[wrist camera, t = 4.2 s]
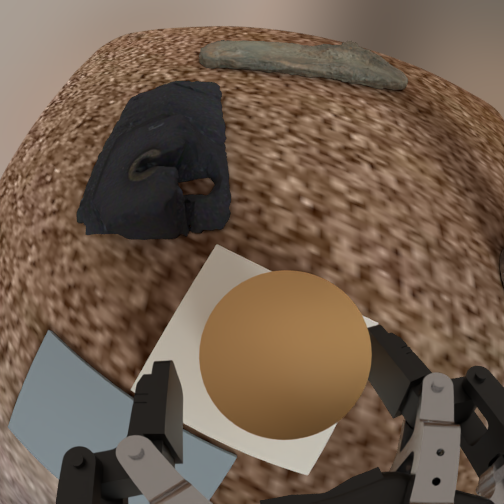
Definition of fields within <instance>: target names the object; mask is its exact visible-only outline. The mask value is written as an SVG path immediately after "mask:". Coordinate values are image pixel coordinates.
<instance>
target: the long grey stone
mask: <svg viewBox="0 0 504 504" xmlns="http://www.w3.org/2000/svg"><path fill="white" fill-rule="evenodd" d="M199 62H200V64H202V65H203V66H204V67H206V68H231V69H248V70H259V71H264V72H269V73H270V72H281V73H287V74H290V75H300V76H305V77H310V78H311V77H324V78H332V79H334V80H335V79H338V80H341V81H342V82H349V83H352V84H362V85H367V86H370V87H373V88H377V89H383V88H387V89H392V90H403V89H405V87H406V86H407V83H408V79H407V77H406V76H405V74H404V73H403V72H402V71H400V70H399V69H397V68H396V67H393V66H392V65H390V64H389V63H388V62H386V61H385V60H384V59H383V58H382V57H381V56H379V55H377V54H375V53H372V51H371V50H368V49H367V50H366V49H363V48H362V47H359V46H358V44H357V43H356V42H355V43H354V42H352V41H348V42H343V43H342V45H330V44H323V45H318V46H303V45H299V44H294V43H280V42H264V41H224V40H221V41H218V42H214V43H211V44H208V45H206V46H205V47H204V48H201V52H200V54H199Z"/></svg>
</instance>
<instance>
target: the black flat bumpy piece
mask: <svg viewBox="0 0 504 504" xmlns="http://www.w3.org/2000/svg"><path fill="white" fill-rule="evenodd" d="M221 97H222V93H221V91H220V86H219V85H217V84H216V83H214V82H199V81H195V82H190V81H175V82H171V83H168V84H165V85H162V86H159V87H157V88H155V89H153V90H151V91H147V92H143V93H140V94H138V95H136V96H134V97H132V98H131V99H130V100H129V102H128V103H127V105H126V107H125V108H124V110H123V112H122V114H121V117H120V120H119V121H118V122H117V123H116V126H115V127H114V129H113V132H112V133H111V135H110V136H109V138H108V139H107V141H106V143H105V145H104V147H103V150H102V152H101V153H100V154H99V156H98V160H97V162H96V164H95V166H94V168H93V171H92V174H91V177H90V179H89V181H88V183H87V185H86V189H85V192H84V196H83V199H82V200H81V202H80V206H79V209H78V211H77V222H78V223H84V225H85V226H86V235H92V234H119V235H122V236H124V237H125V238H128V239H141V240H147V239H173V238H177V237H178V236H179V235H180V234H183V235H185V236H187V235H188V232H189V231H191V232H192V233H193V232H195V233H202V231H203V230H214V229H219V230H220V229H223V228H224V226H225V224H226V222H227V221H228V220H229V217H230V210H229V206H230V203H231V194H230V190H229V173H228V163H227V159H226V158H227V156H226V154H227V153H226V152H225V148H226V147H225V144H224V142H225V140H226V136H225V122H224V120H223V118H222V117H223V112H222V105H221ZM200 178H210V179H211V180H212V181H213V182H214V184H215V186H214V188H213V189H212V191H211V193H210V194H209V195H201V194H199V195H183V192H182V190H181V189H180V188H179V184H178V183H179V182H186V181H190V180H195V179H200ZM189 225H191V226H190V228H189Z"/></svg>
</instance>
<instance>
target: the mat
mask: <svg viewBox="0 0 504 504" xmlns="http://www.w3.org/2000/svg"><path fill="white" fill-rule="evenodd" d="M133 400H134V398H133V397H131V396H130V395H128V394H127V393H125V392H124V391H123V390H121V389H120V388H119V387H117V386H116V385H114V384H113V383H112V382H110V381H109V380H108V379H107V378H105V377H104V376H103V375H101V374H100V373H99V372H98V371H96V370H95V369H94V368H93V367H91V366H90V365H89V364H88V363H87V362H85V361H84V360H83V359H82V358H81V357H80V356H78V355H77V354H76V353H75V352H74V351H73V350H72V349H71V348H70V347H68V346H67V345H66V344H65V343H64V342H63V341H62V340H61V339H60V338H59V337H58V336H57V335H56V334H55V333H54V332H53V331H50V330H48V332H47V334H46V336H45V338H44V340H43V342H42V344H41V346H40V348H39V350H38V352H37V354H36V356H35V359H34V361H33V363H32V365H31V367H30V370H29V372H28V374H27V377H26V379H25V381H24V384H23V386H22V389H21V391H20V394H19V397H18V399H17V402H16V405H15V407H14V410H13V413H12V416H11V419H10V422H9V425H8V428H9V429H10V430H11V432H12V433H13V434H14V435H15V436H16V437H17V439H18V440H19V441H20V442H21V443H22V444H23V445H24V446H25V447H26V448H27V449H28V451H29V452H30V453H31V454H32V455H33V456H34V457H35V458H36V459H37V460H38V461H39V462H40V463H41V464H42V465H43V466H44V467H45V468H47V469H48V470H49V471H50V472H51V473H52V474H53V475H54V476H55V477H56V478H58V479H59V477H60V471H61V465H62V460H63V456H64V454H65V453H66V452H67V451H68V450H69V449H71V448H73V447H76V446H83V447H86V448H88V449H89V450H91V451H92V452H93V453H96V452H102V451H107V450H111V449H114V448H116V447H117V446H118V444H119V443H120V441H122V440H123V439H124V438H126V437H127V434H128V428H129V422H130V417H131V411H132V405H133ZM236 458H237V455H235V454H233V453H230V452H228V451H226V450H224V449H222V448H219V447H217V446H215V445H213V444H211V443H209V442H207V441H205V440H203V439H201V438H199V437H197V436H195V435H193V434H192V433H190V432H188V431H186V430H184V429H183V464H175V469H176V470H177V472H178V473H179V474H180V475H181V476H182V477H183V478H184V479H185V480H186V481H188V482H189V483H191V484H192V485H193V486H194V487H195V488H196V489H197V490H198V491H199V492H200V493H201V494H202V495H203V496H205V497H206V498H207V499H208V500H210V498H211V497H212V495H213V494H214V492H215V491H216V489H217V488H218V486H219V485H220V483H221V482H222V480H223V479H224V477H225V476H226V474H227V472H228V471H229V469H230V468H231V466H232V465H233V463H234V461H235V460H236ZM128 504H150V503H149V501H148V500H147V499H146V497H145V496H144V495H138V496H133V497H128Z"/></svg>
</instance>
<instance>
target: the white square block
mask: <svg viewBox="0 0 504 504" xmlns="http://www.w3.org/2000/svg"><path fill="white" fill-rule="evenodd" d="M267 272H272V271H270V270H268V269H266V268H264V267H262V266H260V265H258V264H256V263H254V262H252V261H250V260H248V259H246V258H244V257H242V256H240V255H238V254H236V253H234V252H232V251H230V250H228V249H226V248H224V247H222V246H220V245H218V244H217V245H216V246H215V248H214V249H213V251H212V253H211V254H210V256H209V257H208V259H207V261H206V262H205V264H204V265H203V267H202V269H201V270H200V272H199V274H198V275H197V277H196V278H195V280H194V282H193V283H192V285H191V287H190V288H189V290H188V292H187V293H186V295H185V297H184V298H183V300H182V302H181V303H180V305H179V307H178V308H177V310H176V312H175V313H174V315H173V317H172V318H171V320H170V322H169V324H168V325H167V327H166V329H165V330H164V332H163V334H162V335H161V337H160V339H159V341H158V342H157V344H156V346H155V348H154V349H153V351H152V353H151V355H150V356H149V358H148V360H147V362H146V363H145V365H144V367H143V369H142V371H141V372H140V374H139V376H138V378H137V379H136V381H135V383H134V385H133V387H132V388H131V391H133V392H134V393H135V390H136V385H137V382H138V381H139V380H140V378H141V377H142V376H143V374H151V373H152V367H153V363H154V361H166V360H172V361H173V363H174V365H175V368H176V371H177V374H178V377H179V380H180V383H181V386H182V391H183V423H184V424H186V425H188V426H190V427H192V428H193V429H195V430H197V431H199V432H201V433H203V434H205V435H207V436H209V437H211V438H213V439H215V440H217V441H219V442H221V443H223V444H226V445H228V446H230V447H232V448H234V449H237V450H239V451H241V452H244V453H246V454H248V455H251V456H253V457H256V458H258V459H261V460H263V461H266V462H269V463H271V464H274V465H277V466H280V467H283V468H286V469H289V470H292V471H295V472H298V473H301V474H305V475H308V474H309V473H310V471H311V469H312V468H313V466H314V464H315V463H316V461H317V459H318V457H319V456H320V454H321V452H322V450H323V449H324V447H325V445H326V443H327V441H328V440H329V438H330V436H331V434H332V432H333V430H334V428H335V426H336V424H337V423H335V424H334V425H332V426H331V427H329V428H328V429H326V430H324V431H322V432H320V433H317V434H315V435H312V436H309V437H305V438H300V439H293V440H276V439H269V438H264V437H260V436H257V435H254V434H251V433H249V432H247V431H245V430H243V429H241V428H239V427H238V426H236V425H235V424H233V423H232V422H231V421H229V420H228V419H227V418H226V417H225V416H224V415H223V414H222V413H221V412H220V411H219V410H218V408H217V407H216V406H215V404H214V403H213V402H212V400H211V398H210V396H209V395H208V393H207V390H206V388H205V386H204V383H203V380H202V376H201V372H200V363H199V348H200V342H201V336H202V333H203V330H204V327H205V324H206V322H207V320H208V318H209V316H210V314H211V312H212V311H213V309H214V308H215V306H216V305H217V304H218V303H219V301H220V300H221V299H222V298H223V297H224V296H225V295H226V294H227V293H228V292H229V291H230V290H232V289H233V288H234V287H236V286H237V285H239V284H240V283H242V282H244V281H246V280H248V279H250V278H251V277H254V276H257V275H260V274H263V273H267ZM363 318H364V321H365V323H366V325H367V328H368V327H372V326H375V325H378V323H377V322H375V321H373V320H371V319H369V318H367V317H365V316H363Z"/></svg>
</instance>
